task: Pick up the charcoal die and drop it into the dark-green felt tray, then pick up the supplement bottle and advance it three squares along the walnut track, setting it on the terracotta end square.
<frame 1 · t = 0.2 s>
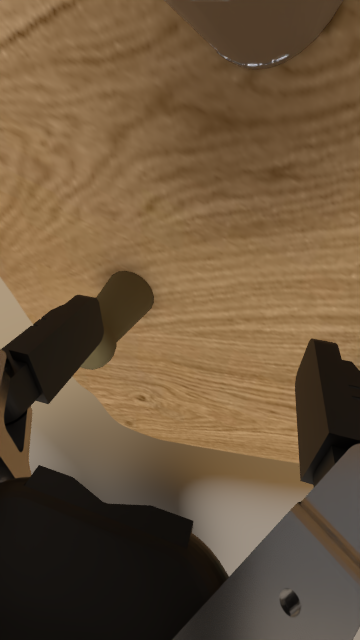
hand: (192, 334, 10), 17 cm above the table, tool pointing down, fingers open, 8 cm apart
olive game pawn: (131, 293, 33), on the table
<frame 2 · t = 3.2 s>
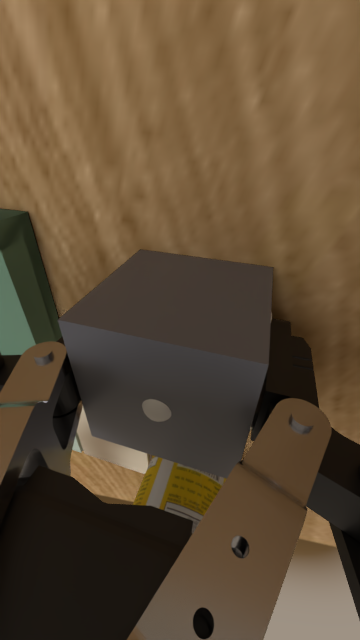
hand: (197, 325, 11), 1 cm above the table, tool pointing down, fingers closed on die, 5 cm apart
track: (48, 407, 20), on the table
supplement bottle: (198, 449, 17), on the table
die: (198, 314, 11), on the table, touching gripper
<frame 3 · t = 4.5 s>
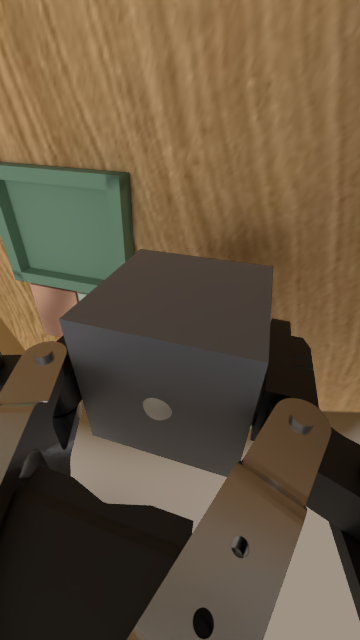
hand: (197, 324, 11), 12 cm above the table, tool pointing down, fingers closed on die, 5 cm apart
track: (109, 319, 29), on the table
tray: (70, 230, 24), on the table
die: (199, 313, 11), point 11 cm above the table, touching gripper
when the fingers open (19 cm above the table, at t = 5.8 s): die drops 18 cm, resting on tray.
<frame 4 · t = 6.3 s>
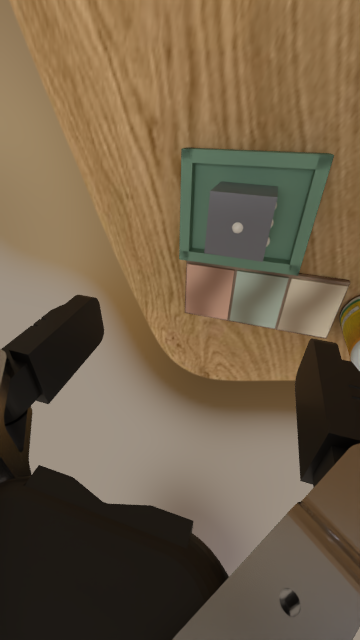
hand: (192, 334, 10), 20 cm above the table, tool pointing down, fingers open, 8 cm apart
track: (257, 297, 31), on the table
tray: (245, 211, 26), on the table
die: (243, 213, 26), point 1 cm above the table, touching tray
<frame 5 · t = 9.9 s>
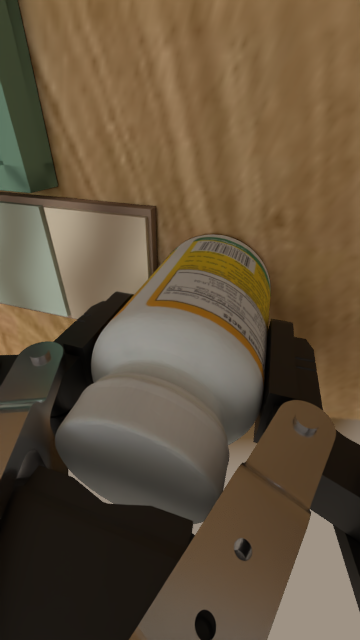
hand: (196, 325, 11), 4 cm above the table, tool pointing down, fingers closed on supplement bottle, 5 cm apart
track: (27, 256, 16), on the table
supplement bottle: (214, 283, 14), on the table, touching gripper
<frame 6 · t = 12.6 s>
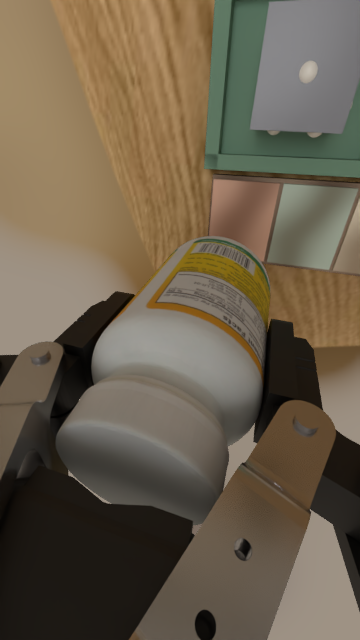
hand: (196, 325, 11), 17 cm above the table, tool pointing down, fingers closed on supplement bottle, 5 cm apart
track: (306, 226, 23), on the table
tray: (302, 86, 18), on the table
supplement bottle: (214, 285, 14), point 13 cm above the table, touching gripper
die: (301, 85, 18), point 1 cm above the table, touching tray
when the fingers open (5 cm above the table, at t = 15.1 s): supplement bottle stays where it is, resting on track.
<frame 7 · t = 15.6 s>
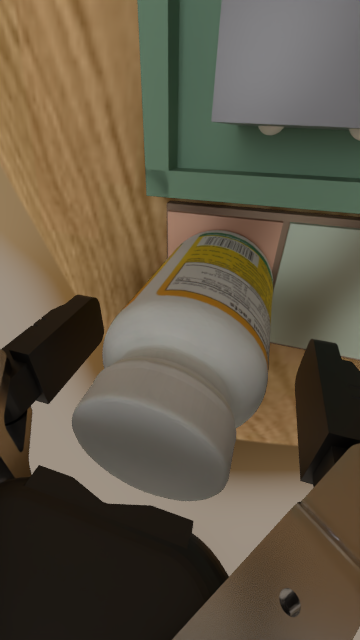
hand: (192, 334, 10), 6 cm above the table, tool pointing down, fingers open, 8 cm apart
track: (328, 289, 13), on the table
tray: (330, 34, 9), on the table
supplement bottle: (218, 278, 14), point 1 cm above the table, touching track
die: (330, 29, 8), point 1 cm above the table, touching tray
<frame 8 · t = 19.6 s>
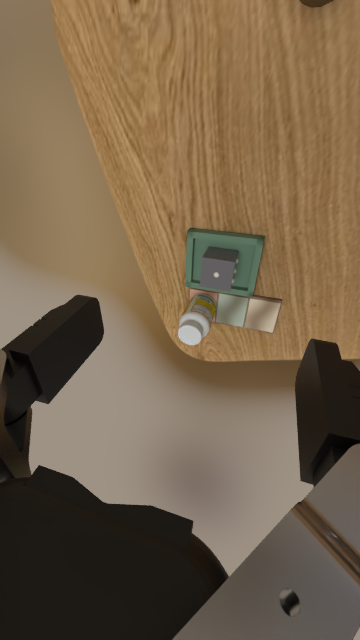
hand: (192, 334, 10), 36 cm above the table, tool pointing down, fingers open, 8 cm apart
track: (231, 308, 51), on the table
tray: (222, 261, 46), on the table
supplement bottle: (203, 305, 52), point 1 cm above the table, touching track
die: (221, 262, 46), point 1 cm above the table, touching tray
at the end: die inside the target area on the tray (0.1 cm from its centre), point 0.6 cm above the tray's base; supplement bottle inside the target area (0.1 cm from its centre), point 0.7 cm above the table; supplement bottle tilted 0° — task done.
